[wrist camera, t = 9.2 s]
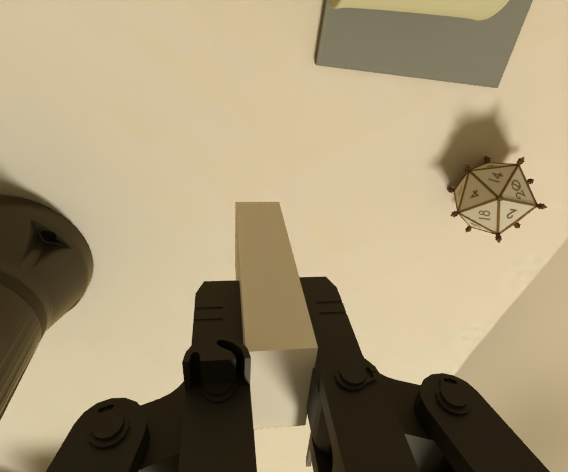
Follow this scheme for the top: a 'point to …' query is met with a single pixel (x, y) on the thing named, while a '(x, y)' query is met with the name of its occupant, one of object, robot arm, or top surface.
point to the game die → (494, 197)
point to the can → (430, 7)
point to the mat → (421, 43)
